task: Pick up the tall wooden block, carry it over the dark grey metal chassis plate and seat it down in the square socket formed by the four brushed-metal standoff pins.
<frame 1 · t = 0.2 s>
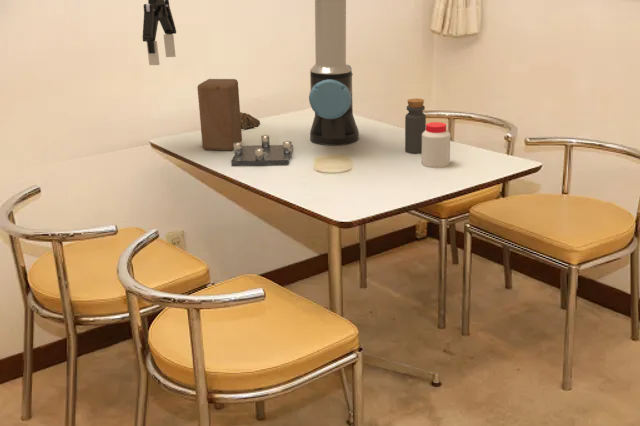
hand: (162, 60, 224), 28 cm above the table, fingers open, 13 cm apart
chassis: (263, 157, 226), on the table
wooden block: (222, 147, 239), on the table
brown rounded lump: (241, 127, 263), on the table
bottle: (415, 151, 227), on the table
pill bottle: (435, 164, 215), on the table
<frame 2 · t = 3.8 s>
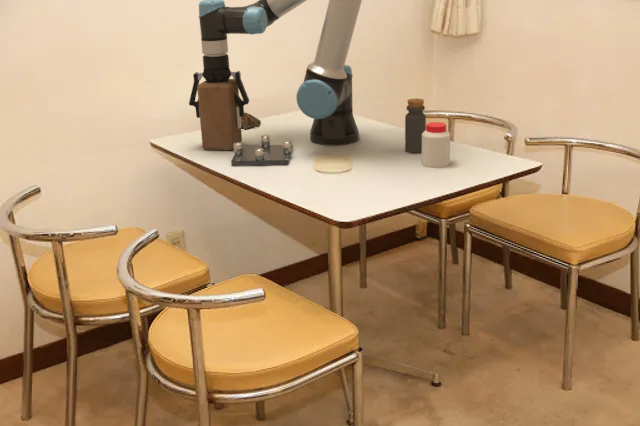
hand: (221, 127, 237), 6 cm above the table, fingers closed on wooden block, 10 cm apart
wooden block: (222, 147, 239), on the table, touching gripper
everything else where it was.
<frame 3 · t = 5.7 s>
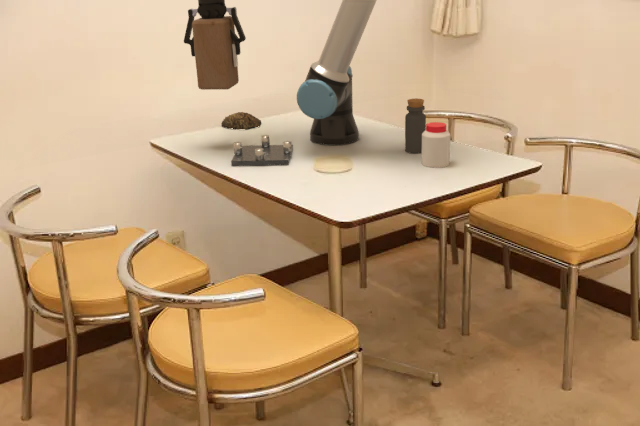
hand: (217, 66, 230), 24 cm above the table, fingers closed on wooden block, 10 cm apart
wooden block: (218, 87, 233), point 18 cm above the table, touching gripper
everything else where it was.
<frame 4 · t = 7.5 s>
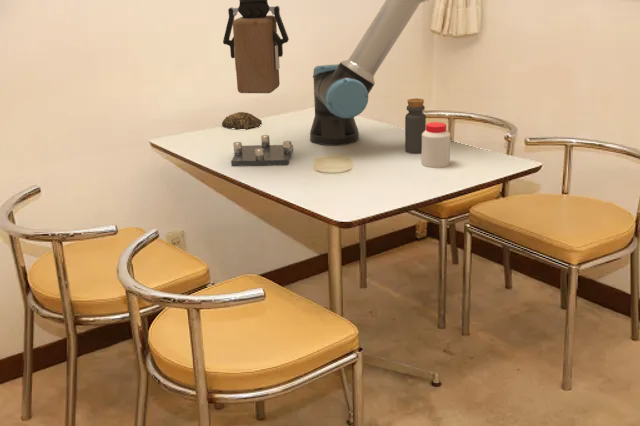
hand: (257, 69, 217), 26 cm above the table, fingers closed on wooden block, 10 cm apart
wooden block: (259, 91, 219), point 19 cm above the table, touching gripper
everything else where it was.
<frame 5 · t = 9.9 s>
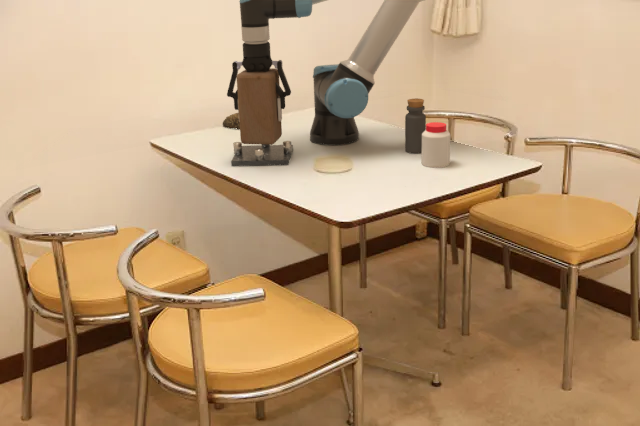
hand: (260, 120, 222), 11 cm above the table, fingers closed on wooden block, 10 cm apart
wooden block: (261, 141, 224), point 5 cm above the table, touching gripper
everything else where it was.
when the fingers open (8 cm above the table, at t = 11.6 s): wooden block stays where it is, resting on chassis.
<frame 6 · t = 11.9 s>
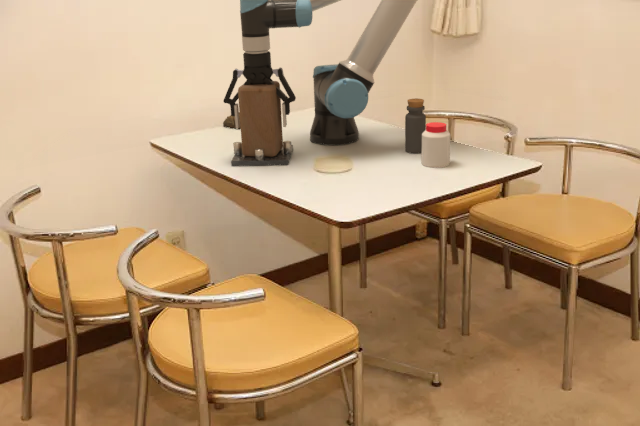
hand: (261, 126, 223), 9 cm above the table, fingers open, 13 cm apart
wooden block: (263, 153, 225), point 1 cm above the table, touching chassis
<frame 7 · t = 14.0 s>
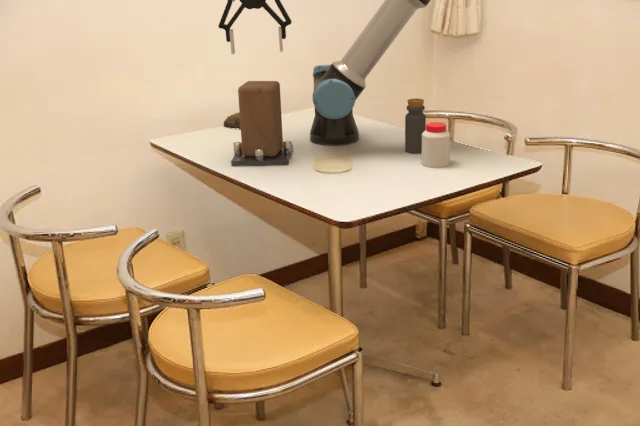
hand: (257, 52, 220), 29 cm above the table, fingers open, 13 cm apart
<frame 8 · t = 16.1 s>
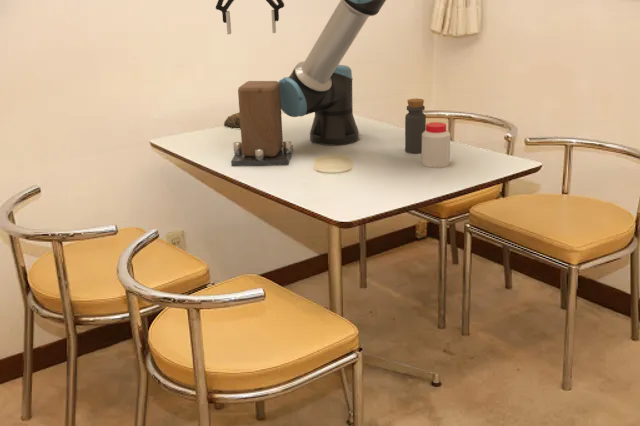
hand: (251, 33, 234), 33 cm above the table, fingers open, 13 cm apart
at the end: wooden block 0.1 cm from the chassis (horizontally); wooden block touching chassis; wooden block tilted 0° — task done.
